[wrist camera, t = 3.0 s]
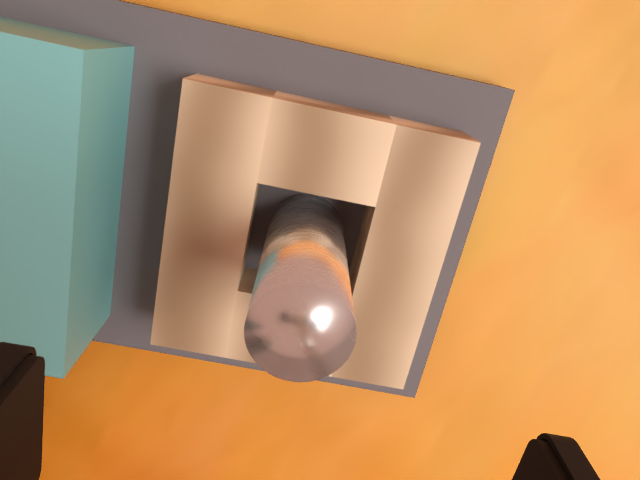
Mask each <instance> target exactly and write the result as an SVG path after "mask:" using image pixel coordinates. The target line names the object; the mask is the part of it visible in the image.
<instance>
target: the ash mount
mask: <svg viewBox="0 0 640 480" xmlns="http://www.w3.org/2000/svg"><path fill="white" fill-rule="evenodd" d="M480 144H481V143H480V142H479V141H477V140H476V139H474V138H473V137H471V136H470V135H468V134H467V133H465V132H463V131H459V130H454V129H449V128H445V127H440V126H436V125H431V124H427V123H422V122H417V121H413V120H408V119H404V118H399V117H394V116H390V115H385V114H381V113H376V112H372V111H367V110H362V109H358V108H353V107H349V106H344V105H339V104H335V103H330V102H326V101H321V100H317V99H312V98H307V97H303V96H298V95H294V94H289V93H284V92H280V91H275V90H271V89H266V88H262V87H257V86H252V85H248V84H243V83H239V82H234V81H229V80H225V79H220V78H216V77H211V76H207V75H202V74H194V75H191V76H188V77H185V78H183V80H182V88H181V97H180V105H179V113H178V121H177V129H176V137H175V146H174V154H173V162H172V170H171V178H170V186H169V195H168V203H167V211H166V219H165V227H164V235H163V244H162V252H161V260H160V268H159V276H158V284H157V293H156V301H155V309H154V317H153V325H152V333H151V342H150V344H151V345H157V346H162V347H168V348H173V349H179V350H185V351H190V352H196V353H201V354H207V355H213V356H218V357H224V358H229V359H235V360H241V361H246V362H252V363H256V362H255V361H254V360H253V358H252V357H251V355H250V354H249V352H248V350H247V347H246V344H245V339H244V325H245V321H246V317H247V312H248V308H249V304H250V300H251V296H252V292H253V288H254V284H255V280H256V276H257V272H258V269H254V268H249V267H245V264H246V259H247V253H248V248H249V242H250V237H251V231H252V226H253V220H254V215H255V209H256V204H257V198H258V192H259V187H260V184H264V185H269V186H274V187H279V188H284V189H289V190H294V191H298V192H303V193H308V194H313V195H318V196H323V197H328V198H333V199H338V200H343V201H347V202H352V203H357V204H362V205H366V206H365V210H364V214H363V218H362V222H361V226H360V230H359V234H358V238H357V242H356V246H355V250H354V254H353V258H352V261H351V265H350V269H349V278H350V286H351V293H352V300H353V307H354V315H355V322H356V331H357V334H356V342H355V346H354V349H353V351H352V353H351V355H350V357H349V358H348V360H347V361H346V362H345V363H344V364H343V366H342V367H340V368H339V369H338V370H337V371H335V372H334V373H332V374H331V375H329V376H330V377H336V378H341V379H347V380H353V381H358V382H364V383H369V384H375V385H381V386H386V387H392V388H397V389H404V385H405V382H406V379H407V376H408V373H409V369H410V366H411V363H412V360H413V357H414V354H415V350H416V347H417V344H418V341H419V338H420V335H421V331H422V328H423V325H424V322H425V319H426V316H427V312H428V309H429V306H430V303H431V300H432V297H433V293H434V290H435V287H436V284H437V281H438V278H439V274H440V271H441V268H442V265H443V262H444V259H445V255H446V252H447V249H448V246H449V243H450V239H451V236H452V233H453V230H454V227H455V224H456V220H457V217H458V214H459V211H460V208H461V205H462V201H463V198H464V195H465V192H466V189H467V186H468V182H469V179H470V176H471V173H472V170H473V167H474V163H475V160H476V157H477V154H478V151H479V148H480Z"/></svg>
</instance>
